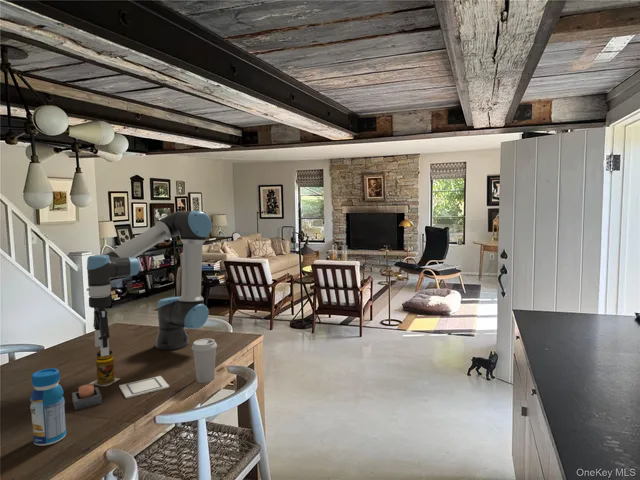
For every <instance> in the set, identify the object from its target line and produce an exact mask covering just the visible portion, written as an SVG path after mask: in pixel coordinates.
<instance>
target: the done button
mask: <svg viewBox="0 0 640 480" xmlns="http://www.w3.org/2000/svg"><path fill="white" fill-rule="evenodd" d="M94 388H95V385H94V384H89V383H86V384H83V385H80V386H79V387H78V391H79V398H86V397H90V396H93V395H94Z"/></svg>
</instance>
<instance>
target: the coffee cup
mask: <svg viewBox="0 0 640 480" xmlns="http://www.w3.org/2000/svg"><path fill="white" fill-rule="evenodd" d="M217 347H218V344H217V342H216V341H215V339H214V338H202V339H201V338H200V339H197V340H195V341H193V344H192V346H191V350H192V353H193V359H194V361H193V362H194V367H195V368H194V369H195V376H196V382H198V383H200V384H208V383H211V382H213V381H214V380H215V376H216V375H215V373H216V372H215V371H216V369H215V368H216V354H217V351H216V350H217Z"/></svg>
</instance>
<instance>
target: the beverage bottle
mask: <svg viewBox="0 0 640 480" xmlns="http://www.w3.org/2000/svg"><path fill="white" fill-rule="evenodd" d="M60 378H61V377H60V371H59V369H58V368H52V367H51V368H45V369H41V370H38V371H35V372H33V373H32V375H31V385H32V387H33V390H32V392H31V394H30V397H29V400H30V402H31V403H30V405H29V406H30V407H29V409H30V412H31V414H30V415H31V423H32V425H31V426H32V436H33V437H32V438H33V439H32V441H33V442H32V443H33V444H34V445H36V446H40V447H42V446H44V447H46V446H50V445H53V444H56V443H58V442H60V441H61V440H63V439H64V438H65V437H66V435H67V427H66V412H65V410H66V409H65V403H66V401H65V397H64V394H65V393H64V392H65V391H64V389H63V387H62V386H61V384H59V382H60Z"/></svg>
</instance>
